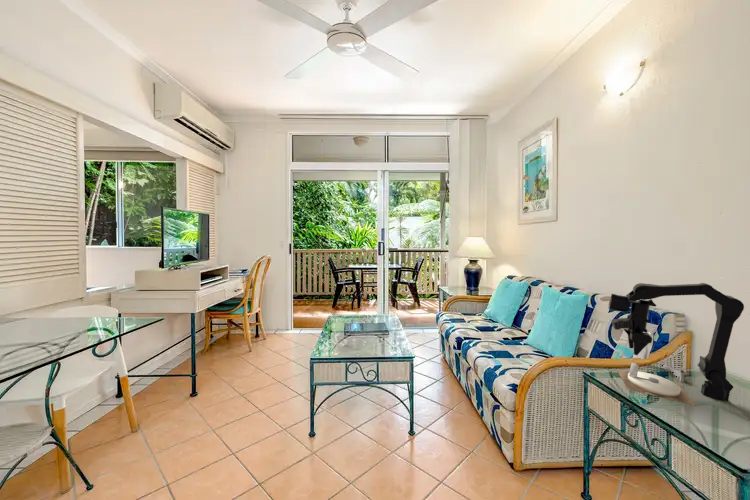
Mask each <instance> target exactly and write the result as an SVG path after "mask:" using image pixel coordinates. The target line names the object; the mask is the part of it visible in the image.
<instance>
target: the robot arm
mask: <svg viewBox="0 0 750 500" xmlns="http://www.w3.org/2000/svg"><path fill="white" fill-rule="evenodd" d="M700 295H701V296H706V297H707V298H708V299H710V300H711V301H713V302H714V303H715V306H714V309H715V315H716V320H715V325H714V329H713V333H712V337H711V341H710V345H709V349H708V353H707V355H706V356H702V355H700V356H699V362H698V363H697V367H698V368H699V372H701V374H702V375H703V376H704V378H705V379H706V380H704V383H703V384H701V387H700V388H701V389H700V394H702V396H705V397H707V398H708V397H709V399H713V400H717V401H720V402H725V401H726V402H729V398H730V395H731V394H730V393H731V391H732V390H733V388H734V385H733V384H732V383H731V382H730V381H729V380H728V379H727V368H726V367H727V366H726V360H725V359H726V355H727V351H728V346H729V344H730V343H729V342H730V339H731V334H732V331H733V328H734V324H735V322H736V321H737V320H738V319H740V317H741V315H742V313H743V311H744V310H745V305H744V303H743V302H742V301H741V300H739V299H738V298H735V297H734V296H732V295H726V294H724V293H722V292H721V291H720V290H719V291H718V290H717V289H716V288H714V287H713V286H712V285H710V284H708V283H705V282H700V283H686V284H667V285H666V284H665V285H663V284H662V285H658V284H651V283H641V282H639V283H636V284H635V285H634V286H633V288H632V290H631V291H630V292H629V293H627V294H626V295H619V294H615V293H611V295H610V298H609V300H608V311H613V312H615V311H616V312H620V313H626V312H629V313H628V314H627V317H621V318H613V319H611V324H612V326H613V328H614V330H616V331H617V330H620V329H621V330H622V329H623V331H624V332H625V333H626V334H627V340H628V347H629V349H633V348H634V352H633V353H634V355H638V354H639V353H640V352H641V351H642V349H643V348H644V347H645V346H646V345H647V344H649V343H652V338H651V336H650V335H649V334H648V333H645V332H648V329H647V324H648V323H649V322H650V320H649V311H650V307H657V304H656V303H655V302H654V301H653V299H657V298H660V297H669V296H670V297H671V296H672V297H673V296H676V297H677V296H700Z"/></svg>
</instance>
